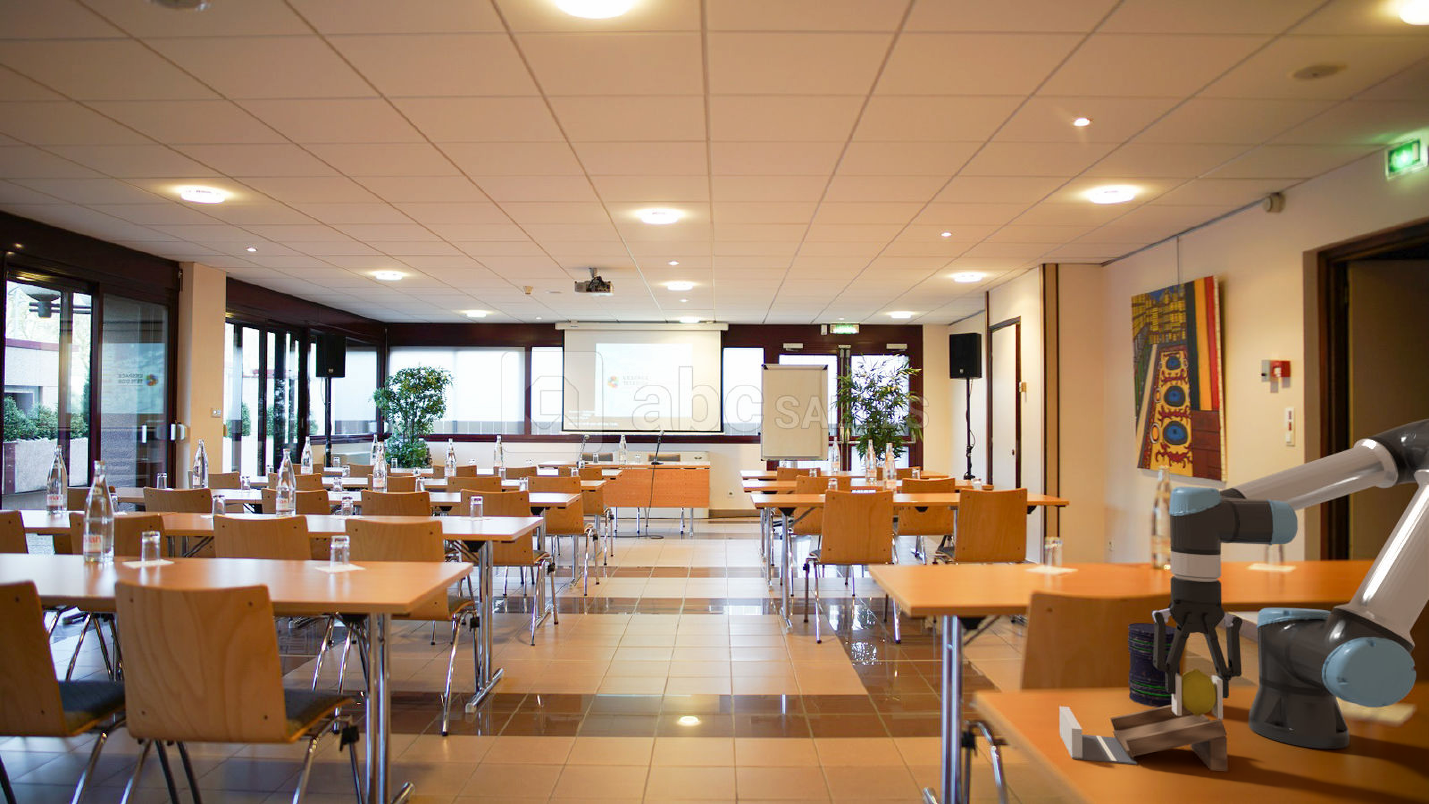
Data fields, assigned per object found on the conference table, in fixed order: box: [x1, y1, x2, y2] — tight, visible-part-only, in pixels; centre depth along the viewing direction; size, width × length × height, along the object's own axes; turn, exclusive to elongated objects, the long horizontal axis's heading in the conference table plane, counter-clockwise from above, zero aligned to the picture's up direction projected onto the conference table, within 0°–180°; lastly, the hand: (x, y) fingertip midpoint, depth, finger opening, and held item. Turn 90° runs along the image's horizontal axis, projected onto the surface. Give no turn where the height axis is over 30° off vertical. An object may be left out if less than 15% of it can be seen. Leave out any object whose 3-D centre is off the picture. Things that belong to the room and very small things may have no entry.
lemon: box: [1181, 668, 1216, 717], centre depth 138 cm, size 6×6×8 cm
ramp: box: [1109, 704, 1228, 772], centre depth 139 cm, size 15×12×8 cm
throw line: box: [1095, 735, 1117, 764], centre depth 141 cm, size 1×12×1 cm, turn 166°
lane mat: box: [1060, 734, 1138, 766], centre depth 142 cm, size 10×12×1 cm
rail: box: [1059, 705, 1083, 761], centre depth 143 cm, size 2×12×5 cm, turn 167°
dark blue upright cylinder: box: [1127, 622, 1181, 708], centre depth 170 cm, size 10×10×15 cm
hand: (1197, 714), depth 138 cm, fingers closed on lemon, 5 cm apart
